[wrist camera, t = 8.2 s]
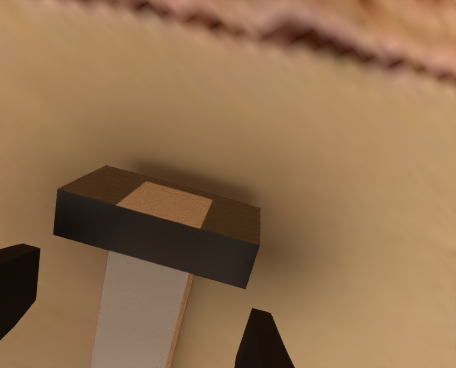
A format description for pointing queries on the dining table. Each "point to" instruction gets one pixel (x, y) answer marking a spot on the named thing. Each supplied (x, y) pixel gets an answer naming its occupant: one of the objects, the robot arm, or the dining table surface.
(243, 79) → the dining table surface
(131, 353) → the shaft
